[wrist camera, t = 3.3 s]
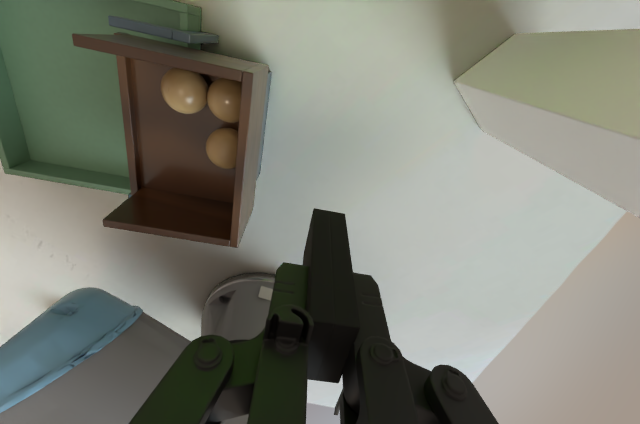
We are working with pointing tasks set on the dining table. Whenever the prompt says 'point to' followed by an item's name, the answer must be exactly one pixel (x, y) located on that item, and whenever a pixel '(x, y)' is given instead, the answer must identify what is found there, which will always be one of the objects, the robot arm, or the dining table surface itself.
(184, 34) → the stand
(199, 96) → the wooden ball
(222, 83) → the wooden ball
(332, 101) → the dining table surface
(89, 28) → the tray
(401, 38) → the dining table surface
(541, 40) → the milk
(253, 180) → the brown wooden box
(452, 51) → the dining table surface
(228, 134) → the wooden ball
